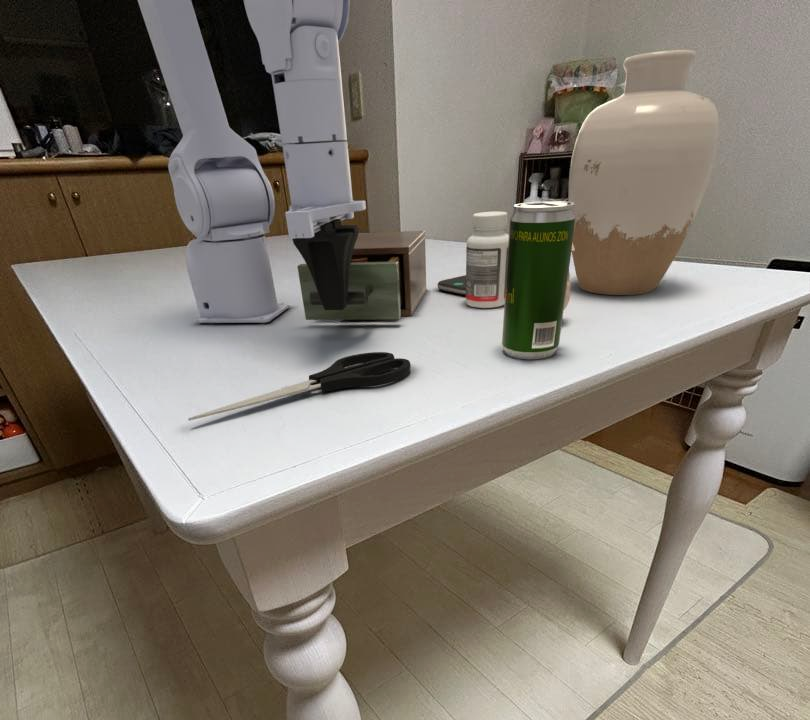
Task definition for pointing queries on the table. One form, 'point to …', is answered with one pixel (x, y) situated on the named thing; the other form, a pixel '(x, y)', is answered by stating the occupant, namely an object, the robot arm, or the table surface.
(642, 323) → the table surface
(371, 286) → the drawer
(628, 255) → the vase
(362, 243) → the cabinet
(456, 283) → the smartphone
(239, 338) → the table surface
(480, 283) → the pill bottle
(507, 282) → the beer can
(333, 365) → the scissors
